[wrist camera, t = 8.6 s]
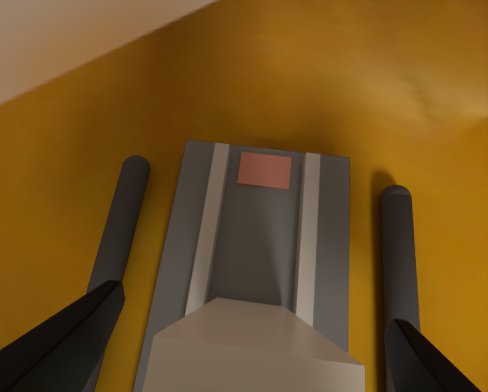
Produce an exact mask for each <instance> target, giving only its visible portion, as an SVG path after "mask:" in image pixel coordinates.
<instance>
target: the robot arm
mask: <svg viewBox="0 0 488 392" xmlns="http://www.w3.org/2000/svg"><path fill="white" fill-rule="evenodd" d="M124 302H125V295H124V290H123V284H122V282H121V281H118V280H107V281H106V282H104V283H103V284H101V285H100V286H98V287H96V288H95V289H93V290H92V291H90V292H89V293H87V294H86V295H84V296H83V297H81V298H80V299H78V300H76V301H75V302H73V303H72V304H70V305H69V306H67V307H66V308H64V309H63V310H61V311H60V312H58V313H56V314H55V315H53V316H52V317H50V318H49V319H47V320H46V321H44V322H43V323H41V324H40V325H38V326H36V327H35V328H33V329H32V330H30V331H29V332H27V333H26V334H24V335H23V336H21V337H20V338H18V339H16V340H15V341H13V342H12V343H10V344H9V345H7V346H6V347H4V348H3V349H1V350H0V392H82V391H83V389H84V387H85V386H86V384H87V382H88V380H89V378H90V376H91V374H92V373H93V371H94V369H95V367H96V365H97V363H98V361H99V360H100V358H101V356H102V354H103V352H104V350H105V348H106V345H107V343H108V341H109V339H110V336H111V334H112V331H113V329H114V327H115V324H116V322H117V320H118V317H119V315H120V312H121V310H122V308H123V305H124ZM384 344H385V349H386V353H387V358H388V363H389V367H390V372H391V376H392V381H393V386H394V390H395V392H481V391H480V390H479V389H478V388H477V387H476V386H475V385H474V384H473V383H472V382H471V381H470V380H469V379H468V378H467V377H466V376H465V375H464V374H463V373H462V372H461V371H459V370H458V369H457V368H456V367H455V366H454V365H453V364H452V363H451V362H450V361H449V360H448V359H447V358H446V357H445V356H444V355H443V354H442V353H441V352H440V351H439V350H438V349H437V348H436V347H435V346H434V345H433V344H432V343H430V342H429V341H428V340H427V339H426V338H425V337H424V336H423V335H422V334H421V333H420V332H419V331H418V330H417V329H416V328H415V327H414V326H413V325H412V324H411V323H410V322H408V321H407V320H404V319H397V318H394V319H392V320H391V322H390V324H389V326H388V328H387V330H386V332H385V334H384Z"/></svg>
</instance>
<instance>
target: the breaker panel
mask: <svg viewBox="0 0 488 392" xmlns="http://www.w3.org/2000/svg"><path fill="white" fill-rule="evenodd" d="M349 194H350V158H349V157H340V156H331V155H321V154H316V153H307V152H306V153H303V152H294V151H285V150H275V149H266V148H257V147H248V146H238V145H229V144H224V143H211V142H202V141H192V140H187V141H186V146H185V151H184V155H183V160H182V165H181V169H180V174H179V179H178V183H177V188H176V193H175V197H174V202H173V207H172V212H171V216H170V221H169V226H168V230H167V235H166V240H165V244H164V249H163V254H162V258H161V263H160V268H159V272H158V277H157V282H156V286H155V291H154V296H153V300H152V305H151V310H150V314H149V319H148V324H147V328H146V333H145V338H144V342H143V347H142V352H141V356H140V361H139V366H138V370H137V375H136V380H135V384H134V389H133V392H142V391H143V386H144V381H145V376H146V371H147V366H148V361H149V356H150V352H151V347H152V342H153V337H154V335H155V334H157V333H158V332H160V331H162V330H163V329H165V328H167V327H168V326H170V325H172V324H173V323H175V322H177V321H178V320H180V319H182V318H183V317H185V316H187V315H188V314H190V313H192V312H193V311H195V310H197V309H198V308H200V307H201V306H203V305H205V304H206V303H208V302H210V301H211V300H213V299H215V298H216V297H219V298H226V299H233V300H241V301H248V302H255V303H263V304H270V305H277V306H284V307H285V308H287V309H288V310H289V311H291V312H292V313H294V314H295V315H296V316H298V317H299V318H300V319H302V320H303V321H304V322H306V323H307V324H308V325H310V326H311V327H313V328H314V329H315V330H317V331H318V332H319V333H321V334H322V335H323V336H325V337H326V338H327V339H329V340H330V341H332V342H333V343H334V344H336V345H337V346H338V347H340V348H341V349H342V350H344V351H345V352H346V353H348V316H349Z"/></svg>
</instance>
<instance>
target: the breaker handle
mask: <svg viewBox="0 0 488 392" xmlns="http://www.w3.org/2000/svg"><path fill="white" fill-rule="evenodd" d="M142 392H365V366H364V365H363V364H361V363H360V362H359V361H357V360H356V359H355V358H353V357H352V356H350V355H349V354H348V353H346V352H345V351H344V350H342V349H341V348H340V347H338V346H337V345H336V344H334V343H333V342H332V341H330V340H329V339H327V338H326V337H325V336H323V335H322V334H321V333H319V332H318V331H317V330H315V329H314V328H313V327H311V326H310V325H308V324H307V323H306V322H304V321H303V320H302V319H300V318H299V317H298V316H296V315H295V314H294V313H292V312H291V311H289V310H288V309H287V308H285V307H284V306H277V305H270V304H263V303H255V302H248V301H241V300H233V299H226V298H219V297H216V298H215V299H213V300H211V301H210V302H208V303H206V304H205V305H203V306H201V307H200V308H198V309H197V310H195V311H193V312H192V313H190V314H188V315H187V316H185V317H183V318H182V319H180V320H178V321H177V322H175V323H173V324H172V325H170V326H168V327H167V328H165V329H163V330H162V331H160V332H158V333H157V334H155V335H154V337H153V342H152V347H151V352H150V356H149V361H148V366H147V371H146V376H145V381H144V386H143V391H142Z"/></svg>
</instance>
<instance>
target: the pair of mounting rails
mask: <svg viewBox="0 0 488 392" xmlns="http://www.w3.org/2000/svg"><path fill="white" fill-rule="evenodd" d="M149 172H150V166H149V163H148V162H147V161H146V159H144V158H143V157H140V156H131V157H129V158H127V159H126V160H125V161H124V163H123V166H122V169H121V173H120V176H119V180H118V183H117V187H116V190H115V194H114V197H113V201H112V204H111V208H110V211H109V215H108V218H107V222H106V225H105V229H104V232H103V236H102V239H101V243H100V246H99V250H98V253H97V257H96V260H95V264H94V267H93V271H92V274H91V278H90V281H89V285H88V288H87V292H86V294H87V293H89V292H90V291H92V290H93V289H95V288H96V287H98V286H100V285H101V284H103V283H104V282H106V281H107V280H118V281H121V282H122V279H123V275H124V271H125V267H126V263H127V260H128V256H129V252H130V248H131V244H132V240H133V236H134V232H135V228H136V224H137V220H138V216H139V212H140V208H141V204H142V200H143V196H144V192H145V188H146V184H147V180H148V176H149ZM381 223H382V258H383V293H384V328H385V332H386V330H387V328H388V326H389V324H390V322H391V320H392V319H394V318H397V319H404V320H407V321H408V322H410V323H411V324H412V325H413V326H414V327H415V328H416V329H417V330H418V331H419V332H420V321H419V305H418V290H417V274H416V259H415V243H414V228H413V213H412V198H411V194H410V192H409V191H408V189H406V188H405V187H403V186H400V185H392V186H389V187H387V188H386V189H385V190H384V191H383V192H382V194H381ZM104 351H105V350H104ZM103 355H104V352H103V354H102V356H101V358H100V360H99V361H98V363H97V365H96V367H95V369H94V371H93V373H92V374H91V376H90V378H89V380H88V382H87V384H86V386H85V387H84V389H83V391H82V392H94V391H95V387H96V383H97V379H98V375H99V371H100V367H101V363H102V359H103ZM385 363H386V392H395V390H394V386H393V381H392V376H391V372H390V367H389V363H388V358H387V353H386V349H385Z"/></svg>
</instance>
